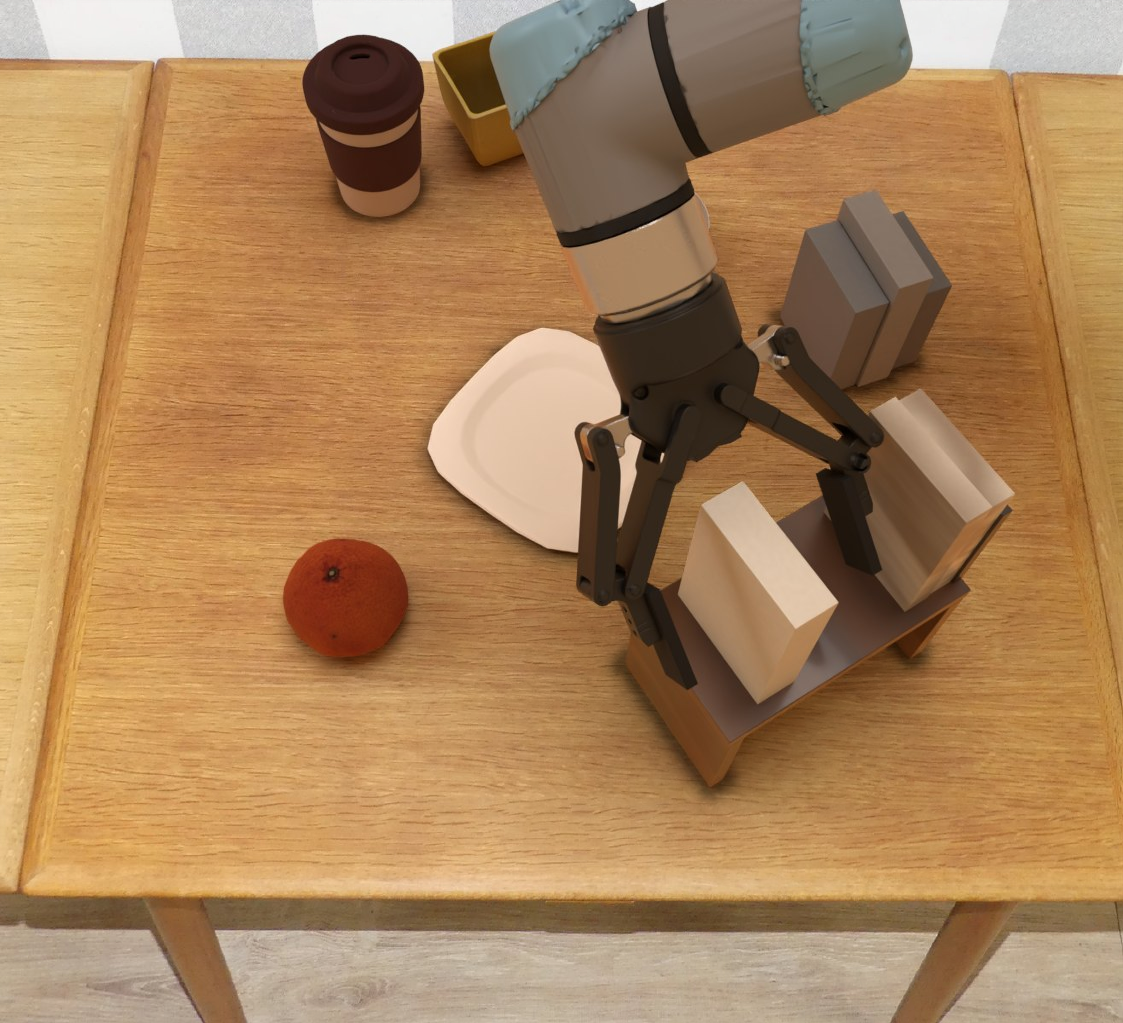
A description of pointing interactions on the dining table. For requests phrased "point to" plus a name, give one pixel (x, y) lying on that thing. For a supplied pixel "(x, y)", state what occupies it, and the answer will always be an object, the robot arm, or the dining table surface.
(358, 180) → the coffee cup
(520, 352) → the plate
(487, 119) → the flower pot
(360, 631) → the fruit
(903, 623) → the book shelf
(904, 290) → the grey books
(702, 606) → the white book
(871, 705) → the dining table surface
